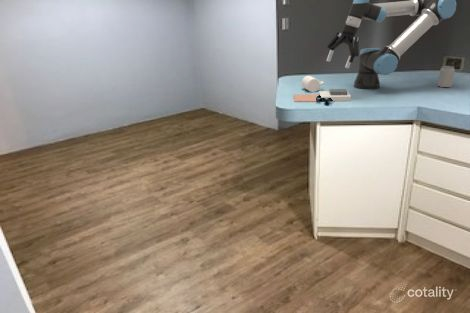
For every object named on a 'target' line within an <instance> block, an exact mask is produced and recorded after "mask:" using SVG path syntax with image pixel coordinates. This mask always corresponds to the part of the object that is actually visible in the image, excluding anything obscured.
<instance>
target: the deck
mask: <svg viewBox="0 0 470 313" xmlns="http://www.w3.org/2000/svg"><path fill="white" fill-rule="evenodd" d="M319 95H320V96H321V98H331V99H332V100H333V101H332V102H351V99H352V98H351V97H352V96H351V94H350V93H349V92H348V90H347V95H330V93H329V90H328V91H327V90H325V91H324V90H323V91H321V90H318V96H319Z"/></svg>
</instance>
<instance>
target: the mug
mask: <svg viewBox="0 0 470 313" xmlns="http://www.w3.org/2000/svg"><path fill="white" fill-rule="evenodd" d="M324 84H325V83H324V81H322V80H321V81H320V80H318V79H317V78H315V77H314V76H311V75H305V76H304V77H303V78H302V80H301V85H302V88H304V89H305V90H307V91H309V92H310V93H315V92H317V91H319V89H320V87H321V86H323V85H324Z"/></svg>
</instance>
